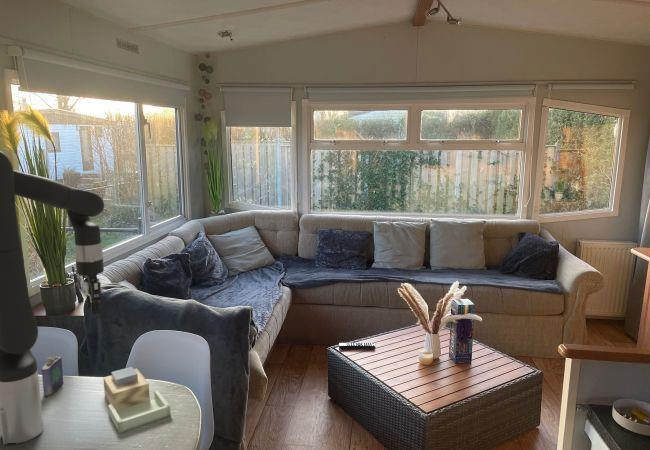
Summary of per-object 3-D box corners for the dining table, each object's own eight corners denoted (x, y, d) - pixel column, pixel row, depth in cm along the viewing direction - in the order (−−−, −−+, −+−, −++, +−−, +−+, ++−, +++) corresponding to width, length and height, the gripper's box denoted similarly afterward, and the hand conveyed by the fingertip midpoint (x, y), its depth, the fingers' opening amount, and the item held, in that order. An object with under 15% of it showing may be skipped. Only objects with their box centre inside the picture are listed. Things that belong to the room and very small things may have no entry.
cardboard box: (114, 413, 137) (113, 393, 136) (104, 395, 146) (103, 377, 145) (149, 401, 143) (148, 383, 142) (138, 385, 152) (137, 368, 151)
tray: (119, 433, 127) (118, 423, 127) (109, 414, 136) (108, 405, 135) (170, 415, 135) (170, 406, 135) (158, 399, 144) (157, 390, 144)
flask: (50, 396, 145) (47, 363, 144) (40, 396, 145) (37, 363, 143) (65, 381, 154) (62, 350, 153) (56, 381, 154) (53, 350, 153)
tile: (116, 386, 140) (116, 379, 140) (111, 378, 145) (111, 372, 144) (137, 380, 143) (137, 374, 143) (132, 372, 148) (131, 366, 148)
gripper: (71, 255, 148) (75, 306, 151) (80, 264, 136) (84, 319, 139) (97, 252, 152) (101, 301, 155) (108, 260, 141) (112, 314, 144)
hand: (93, 310), depth 147 cm, fingers open, 6 cm apart
